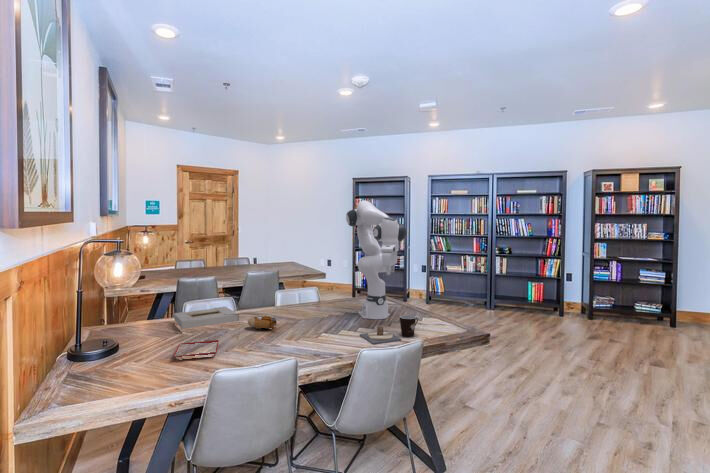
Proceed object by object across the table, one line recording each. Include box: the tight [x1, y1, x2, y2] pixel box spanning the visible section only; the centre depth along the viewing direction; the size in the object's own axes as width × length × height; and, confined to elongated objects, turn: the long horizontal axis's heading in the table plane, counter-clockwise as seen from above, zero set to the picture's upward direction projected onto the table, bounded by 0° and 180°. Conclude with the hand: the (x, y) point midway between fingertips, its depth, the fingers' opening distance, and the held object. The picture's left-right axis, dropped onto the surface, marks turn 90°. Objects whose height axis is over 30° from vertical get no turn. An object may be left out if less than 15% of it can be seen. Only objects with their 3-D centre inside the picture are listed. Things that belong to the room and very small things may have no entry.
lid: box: [368, 325, 394, 340], centre depth 203 cm, size 13×13×5 cm
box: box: [172, 306, 240, 329], centre depth 229 cm, size 23×8×32 cm
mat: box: [359, 330, 402, 345], centre depth 203 cm, size 16×16×1 cm
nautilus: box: [247, 313, 278, 332], centre depth 218 cm, size 8×22×15 cm
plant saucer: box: [172, 339, 220, 358], centre depth 180 cm, size 18×18×3 cm
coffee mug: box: [399, 314, 419, 338], centre depth 208 cm, size 12×9×10 cm
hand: (390, 273), depth 209 cm, fingers open, 8 cm apart
